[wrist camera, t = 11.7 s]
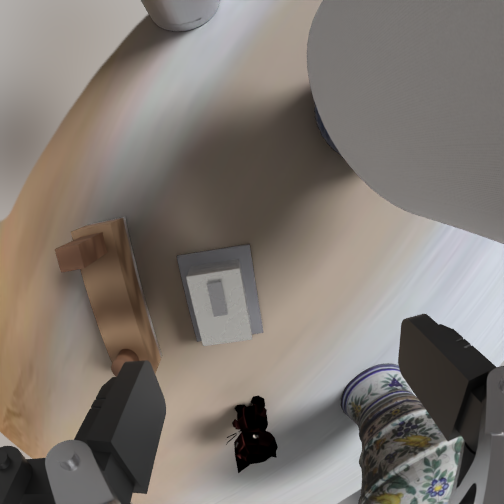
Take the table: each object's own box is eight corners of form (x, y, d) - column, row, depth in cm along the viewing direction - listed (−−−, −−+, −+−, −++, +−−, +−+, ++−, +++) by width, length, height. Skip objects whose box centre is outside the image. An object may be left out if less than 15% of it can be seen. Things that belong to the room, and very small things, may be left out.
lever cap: (191, 266, 39) (185, 278, 34) (239, 258, 39) (239, 270, 34) (206, 330, 41) (202, 348, 36) (251, 324, 41) (252, 341, 36)
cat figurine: (259, 385, 44) (265, 443, 33) (283, 410, 46) (293, 466, 34) (221, 405, 45) (218, 462, 33) (247, 428, 46) (249, 484, 35)
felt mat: (177, 255, 39) (176, 256, 38) (249, 243, 39) (249, 245, 38) (197, 339, 42) (197, 341, 41) (263, 330, 42) (263, 332, 41)
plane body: (88, 224, 37) (44, 243, 27) (125, 216, 37) (86, 233, 27) (128, 357, 42) (103, 404, 32) (162, 355, 42) (144, 404, 32)
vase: (311, 381, 44) (367, 559, 15) (411, 332, 43) (529, 465, 14) (339, 439, 48) (385, 576, 19) (422, 398, 47) (501, 514, 18)
